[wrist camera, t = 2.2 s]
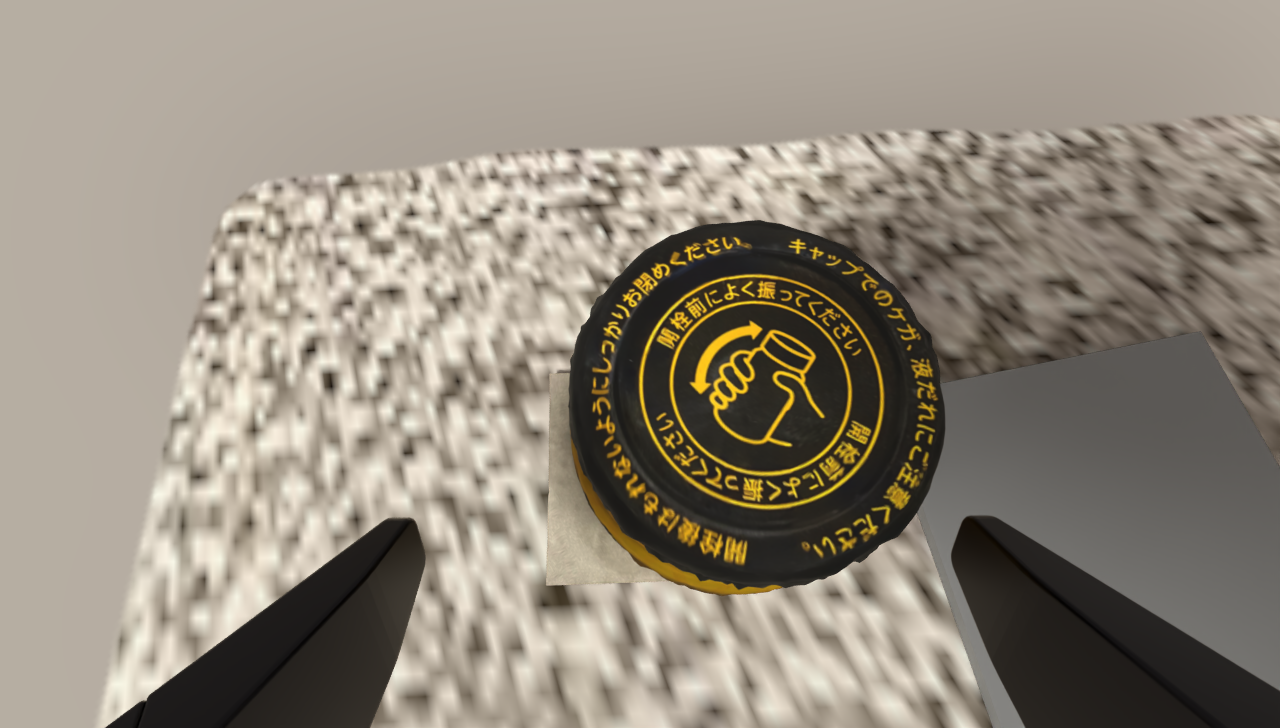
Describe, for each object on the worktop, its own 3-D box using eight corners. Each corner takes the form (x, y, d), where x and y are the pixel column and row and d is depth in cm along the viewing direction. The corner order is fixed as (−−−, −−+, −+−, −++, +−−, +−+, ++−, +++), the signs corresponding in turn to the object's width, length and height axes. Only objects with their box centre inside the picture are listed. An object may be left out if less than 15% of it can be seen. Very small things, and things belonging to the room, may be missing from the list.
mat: (1395, 700, 15) (1418, 705, 15) (1014, 789, 15) (1026, 796, 15) (1186, 336, 19) (1200, 331, 19) (877, 398, 19) (882, 394, 18)
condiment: (801, 575, 17) (1096, 663, 6) (547, 585, 17) (336, 688, 6) (775, 366, 19) (950, 129, 8) (551, 376, 19) (405, 156, 8)
